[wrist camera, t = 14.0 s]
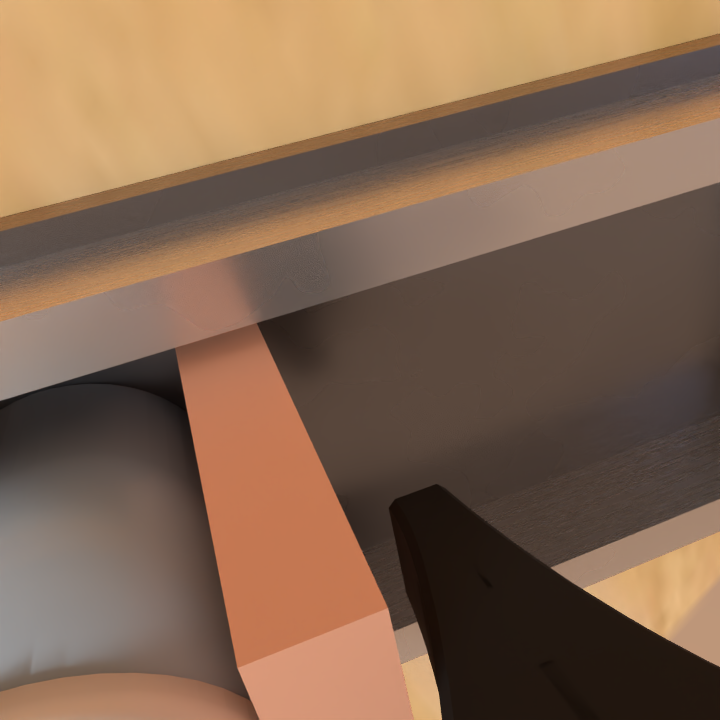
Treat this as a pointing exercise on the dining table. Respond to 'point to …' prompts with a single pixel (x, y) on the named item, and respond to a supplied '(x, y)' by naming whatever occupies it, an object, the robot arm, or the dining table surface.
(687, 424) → the pusher lane
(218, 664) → the jar
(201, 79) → the dining table surface
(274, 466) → the plate
